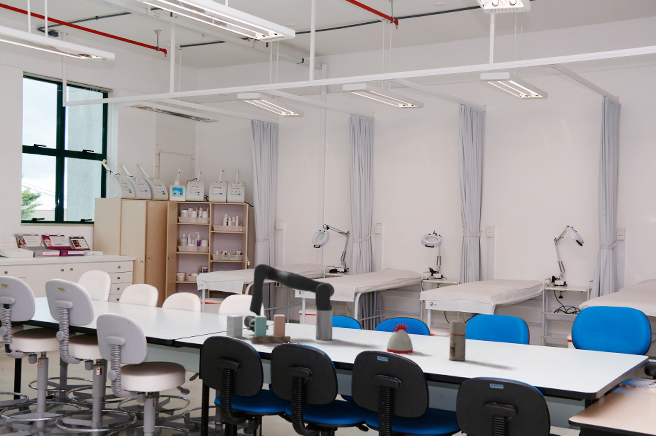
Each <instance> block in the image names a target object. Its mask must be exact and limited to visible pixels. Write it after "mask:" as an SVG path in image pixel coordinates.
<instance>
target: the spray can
mask: <svg viewBox="0 0 656 436" xmlns="http://www.w3.org/2000/svg"><path fill="white" fill-rule="evenodd" d="M466 335H467V328H466V323H465V322H464V321H461V320H453V319H451V320H450V322H449V358H448V359H449V360H452V361H466V347H467V346H466V341H467V340H466V337H467V336H466Z"/></svg>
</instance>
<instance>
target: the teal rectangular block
mask: <svg viewBox="0 0 656 436" xmlns="http://www.w3.org/2000/svg"><path fill="white" fill-rule="evenodd" d="M267 319H268V318H267V316H266V315H261V316H257V315H255V330H254V332H253V333H254V335H253V337H265V336H267V330H266V325H268V324H267V322H268V321H267Z"/></svg>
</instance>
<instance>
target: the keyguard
mask: <svg viewBox="0 0 656 436" xmlns="http://www.w3.org/2000/svg"><path fill="white" fill-rule="evenodd" d="M249 341H250V343H251V344H253V345H254V344H257V345H258V344H259V345H260V344H262V345H263V344H264V345H265V344H268V345H269V344H275V345H276V344H291V336H290V335H285V336H273V335H272V336H270V335H269V336H268V335H266V336H265V337H254V336H252V337H249ZM288 342H289V343H288Z"/></svg>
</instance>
